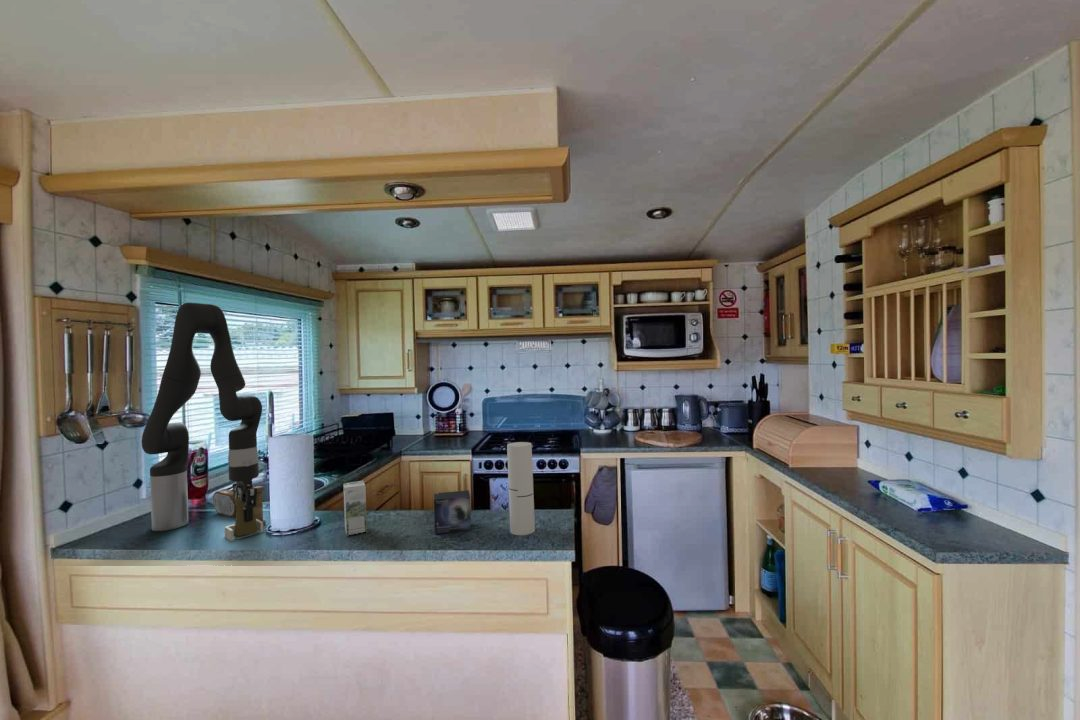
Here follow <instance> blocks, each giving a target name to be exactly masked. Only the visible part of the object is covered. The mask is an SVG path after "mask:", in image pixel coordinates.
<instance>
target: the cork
mask: <svg viewBox="0 0 1080 720" xmlns="http://www.w3.org/2000/svg"><path fill="white" fill-rule="evenodd" d="M243 498H244V497H243ZM244 499H246V497H245V498H244ZM249 504H251V501H249ZM235 506H236V507H237V514H236V516H235V531H234V535H237V536H241V535H247V534H251V533H254V532H256V531H257V530H258V527H257V522H256V517H255V511H254V508H253V520H252V521H250V522H244V511H243V510H244V509H243V502H240V496H238V497H237V498H236V499H235Z"/></svg>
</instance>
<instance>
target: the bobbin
mask: <svg viewBox="0 0 1080 720" xmlns="http://www.w3.org/2000/svg"><path fill="white" fill-rule="evenodd" d="M254 488H257V498H256V507H254V511H255V517H256V519H258V520H260V521H262V522H263V525H264V526H265V524H266V525H267V521H266V519H265V520H264V509H263V508H264V507H263V505H264V504H263V491H264V490H265V489H264V488H265V487H264V486H262V485H259V486H258V485H257V486H254Z"/></svg>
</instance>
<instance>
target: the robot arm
mask: <svg viewBox="0 0 1080 720" xmlns="http://www.w3.org/2000/svg"><path fill="white" fill-rule="evenodd" d="M227 323H228V322H227V318H226V316H225V313H224V312H223V309H222V308H221V307H220V306H218V305H216V304H210V303H209V304H208V303H199V302H185V303H183V304H181V305H180V307H178V310H177V313H176V315H175V321H174V327H173V333H172V339H171V344H170V349H169V352H168V357H167V360H166V364H165V367H164V369H163V373H162V376H161V380H160V383H159V387H158V392H157V395H156V399H155V402H154V405H153V407H152V410H151V413H150V415H149V418H148V420H147V422H146V424H145V426H144V429H143V432H142V435H141V448H142V450H143V452H144V453H145V454H148V455H159V454H166V453H167V454H166V456H165V457H164V458H163V459H162V460H160V461H158V462H157V463H155V464H153V465H152V466H151V467H150V468H149V482H150V510H151V511H150V512H151V513H150V514H151V515H150V516H151V517H150V518H151V531H153V532H163V531H169V530H174V529H178V528H181V527H184V526H186V525H188V524H189V499H188V497H189V496H188V493H189V491H188V470H187V467H188V463H189V450H190V449H189V447H190V446H189V445H190V444H189V443H190V435H189V430H188V428H187V426H186V424H184V423H182V422H170V421H171V420H172V418H173V416H174V415H175V414H176V412H178V411H179V410H180V409H181V408H182V407H183V406H184V405H185V404H186V403H187V402H189V400H191V399H192V397H193V396H194V394H195V393H196V391H197V388H198V386H199V383H200V379H201V375H202V371H201V370H202V369H201V367H200V364H199V362H198V360H197V358H196V357H195V354H194V351H193V343H194V338H195V336H196V334H209V336H210V337H211V339H212V340H213V345H214V346H213V347H214V349H213V354H212V356H211V359H210V373H211V375H212V378H213V380H214V382H215V384H216V387H217V389H218V401H219V402H218V403H219V411H220V413H221V416H222V417H223V418H224V419H225V420H227V421H229V422H236V421H241V422H240V424H239V426H237V427H235V428H233V429H231V430H230V431H229V433H228V459H227V461H228V462H227V463H228V464H227V465H228V480H229V481H230V482H233V483H232V491H233V494H234V502H235V499H236V498H237V497H238V495H239V496H240V502H243V509H244V510H243V511H244V522H250V521H252V520H253V508H254V507H256V498H257V488H254V487H255V484H253V479H256V478H258V477H259V476H260V475H259V474H260V471H259V469H260V467H259V451H258V441H257V440H258V439H257V432H258V428H259V425H260V422H261V418H262V414H263V405H262V404H263V403H262V401H261V400H260V398H258V397H257V396H255V395H242V396H238V395H237V393H238V392H240V391H242V390H243V389H244V388H245V386H246V380H245V378H244V376H243V373H242V372H241V369H240V367H239V365H238V362H237V359H236V356H235V353H234V350H233V349H234V348H233V345H232V339H231V335H230V331H229V326H228V324H227ZM243 497H244V498H245V497H246V499H244V498H243ZM249 501H251V504H249Z"/></svg>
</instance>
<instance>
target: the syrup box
mask: <svg viewBox="0 0 1080 720" xmlns="http://www.w3.org/2000/svg"><path fill="white" fill-rule="evenodd" d="M366 489H367V488H366V484H365V482H364V480H359V481H352V482H351V481H350V482H344V483H343V511H344V512H343V514H344V517H343V519H344V531H345V535H346V537H350V536H349V535H351V536H355V535H354V534H356V535H359V534H358V533H361V534H364V533H363V532H366V533H368V530H367V529H368V527H367V524H368V523H367V522H368V521H367V493H366V492H367V490H366Z"/></svg>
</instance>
